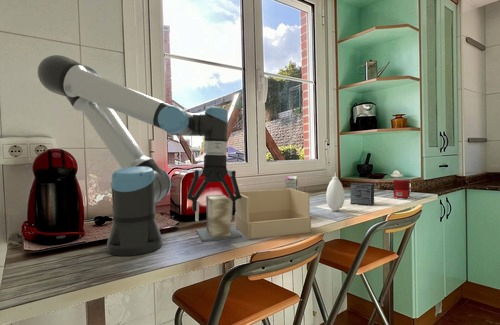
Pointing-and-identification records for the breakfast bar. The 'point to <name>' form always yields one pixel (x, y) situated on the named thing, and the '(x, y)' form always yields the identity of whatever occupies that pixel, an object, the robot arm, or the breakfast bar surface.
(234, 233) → the mat
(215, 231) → the box
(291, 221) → the carton
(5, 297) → the breakfast bar surface
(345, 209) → the breakfast bar surface
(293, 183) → the candy bar box
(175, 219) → the breakfast bar surface
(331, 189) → the air blower bulb
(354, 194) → the small box
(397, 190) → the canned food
